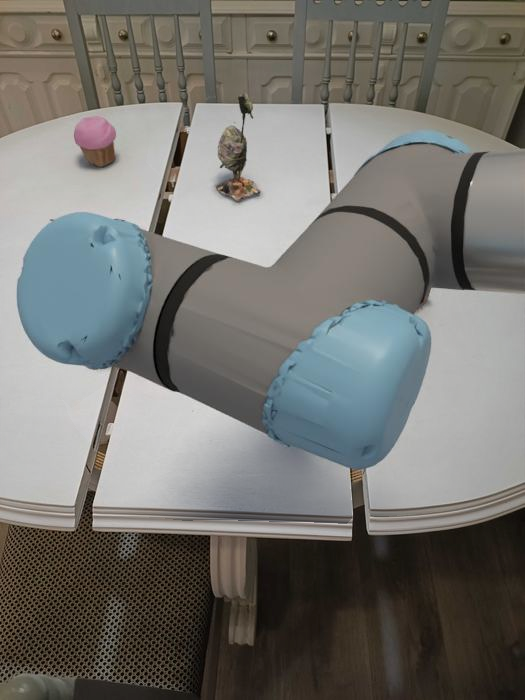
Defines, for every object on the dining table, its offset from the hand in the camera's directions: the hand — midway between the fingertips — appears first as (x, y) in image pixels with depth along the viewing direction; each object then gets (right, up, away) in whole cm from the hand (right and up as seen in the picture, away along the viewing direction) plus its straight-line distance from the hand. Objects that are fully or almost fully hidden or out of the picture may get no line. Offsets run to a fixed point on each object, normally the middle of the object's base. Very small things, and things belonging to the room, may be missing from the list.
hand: (329, 334), depth 59 cm
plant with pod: (-13, +32, +53) cm, 63 cm away
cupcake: (-44, +40, +61) cm, 85 cm away
